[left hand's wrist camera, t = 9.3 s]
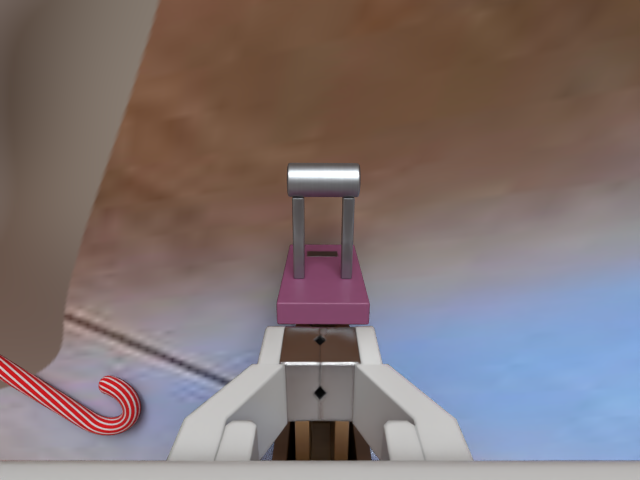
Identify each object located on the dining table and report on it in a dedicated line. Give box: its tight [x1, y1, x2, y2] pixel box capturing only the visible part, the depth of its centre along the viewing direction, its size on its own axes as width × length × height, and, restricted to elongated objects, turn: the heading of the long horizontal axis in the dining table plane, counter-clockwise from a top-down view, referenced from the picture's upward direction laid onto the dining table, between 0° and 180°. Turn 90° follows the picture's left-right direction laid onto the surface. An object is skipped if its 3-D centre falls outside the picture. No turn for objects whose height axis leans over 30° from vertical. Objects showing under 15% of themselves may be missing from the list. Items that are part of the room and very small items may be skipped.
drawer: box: [277, 163, 370, 461], centre depth 23 cm, size 22×4×8 cm, turn 0°
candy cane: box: [0, 355, 141, 435], centre depth 29 cm, size 6×15×2 cm, turn 46°
